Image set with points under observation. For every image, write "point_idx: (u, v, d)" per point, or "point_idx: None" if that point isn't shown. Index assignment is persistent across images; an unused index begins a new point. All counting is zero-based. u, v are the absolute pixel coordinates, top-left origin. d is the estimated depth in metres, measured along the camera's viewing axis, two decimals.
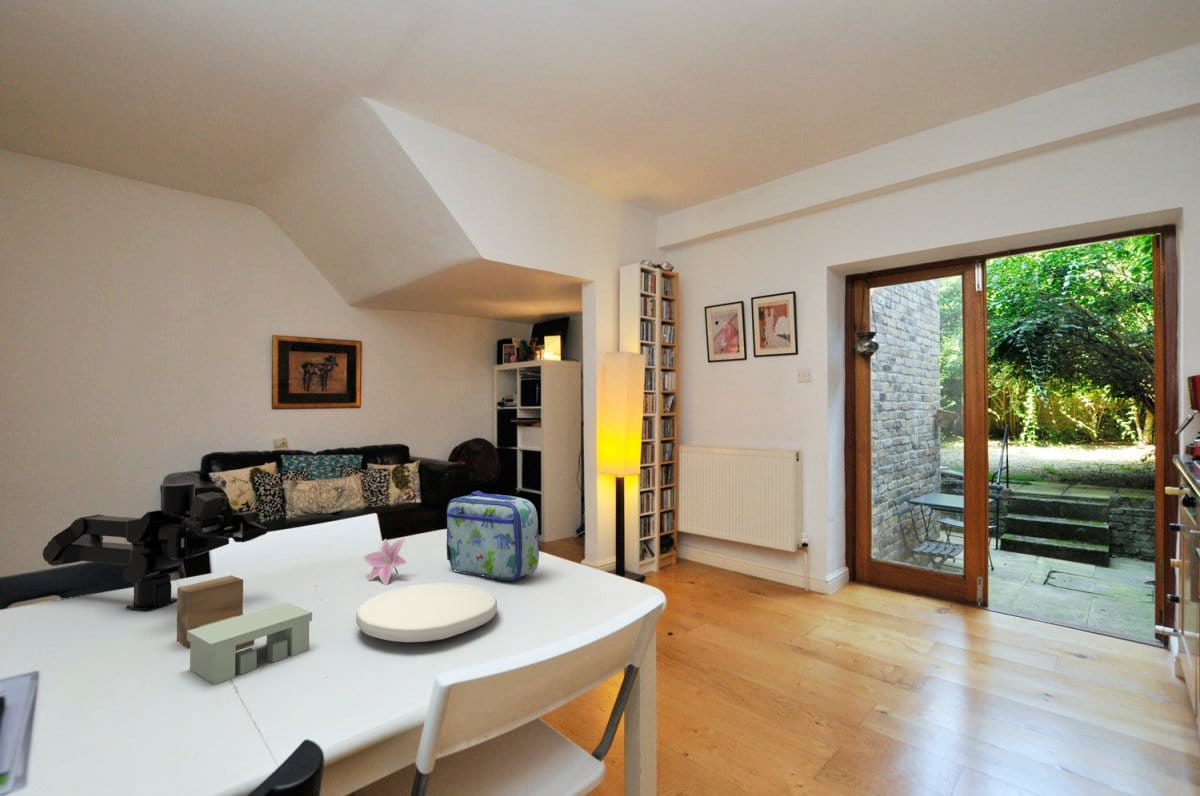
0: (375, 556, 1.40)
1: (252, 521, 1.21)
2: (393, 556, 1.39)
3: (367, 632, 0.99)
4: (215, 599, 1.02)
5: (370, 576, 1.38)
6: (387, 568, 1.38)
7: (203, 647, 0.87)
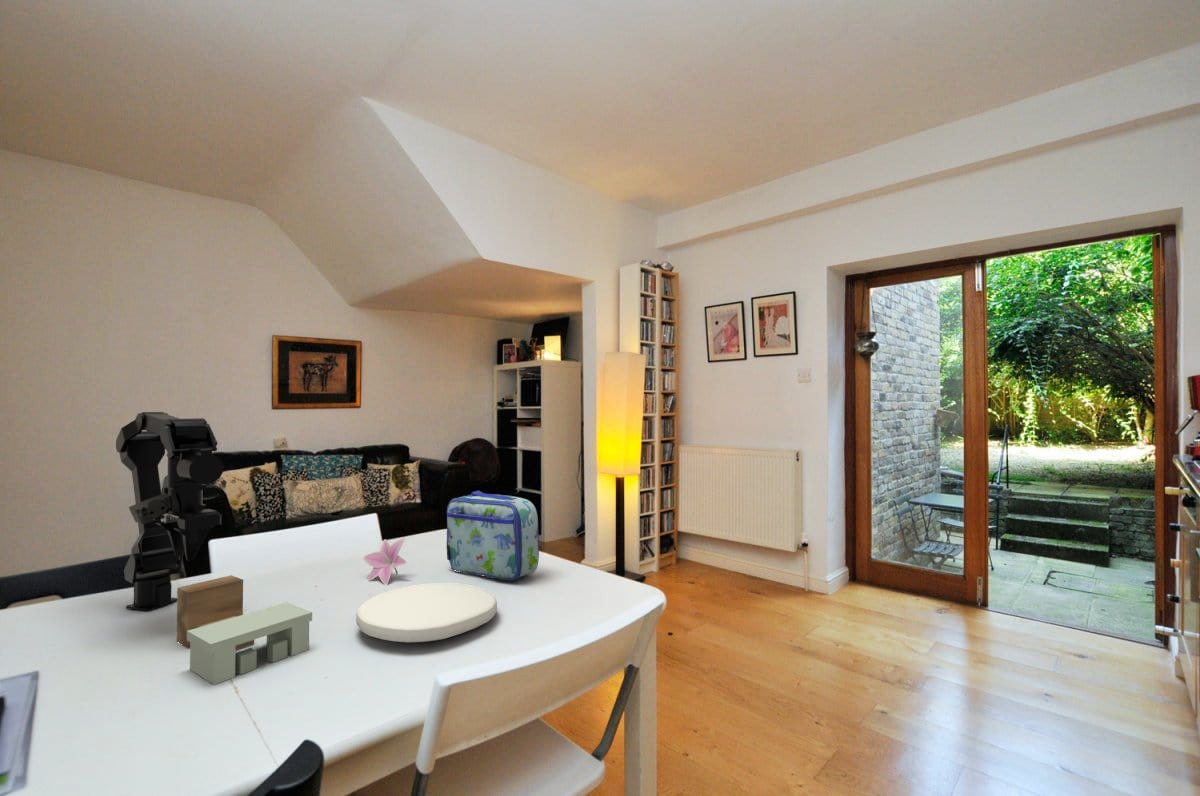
0: (375, 556, 1.40)
1: (184, 536, 1.07)
2: (393, 556, 1.39)
3: (367, 632, 0.99)
4: (215, 599, 1.02)
5: (370, 577, 1.37)
6: (387, 568, 1.37)
7: (203, 647, 0.87)
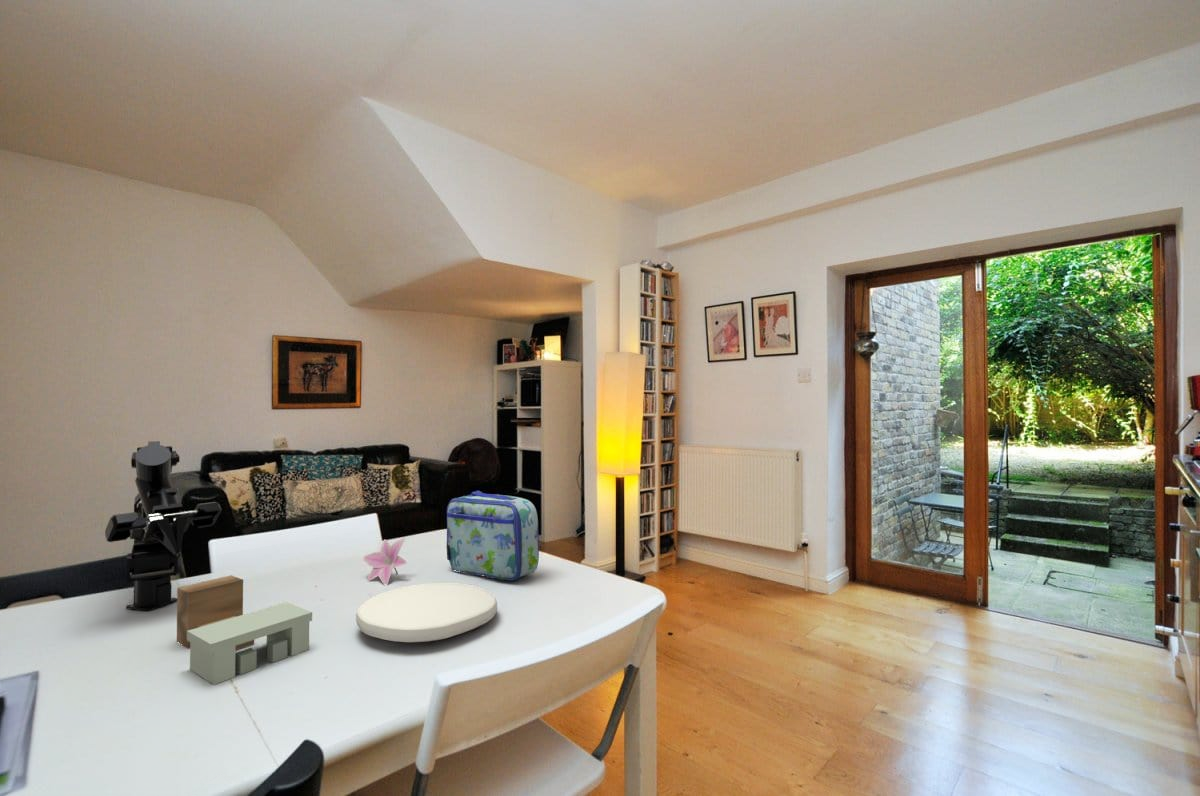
0: (375, 557, 1.40)
1: None
2: (393, 557, 1.39)
3: (367, 632, 0.99)
4: (215, 599, 1.02)
5: (370, 577, 1.37)
6: (387, 568, 1.37)
7: (203, 647, 0.87)
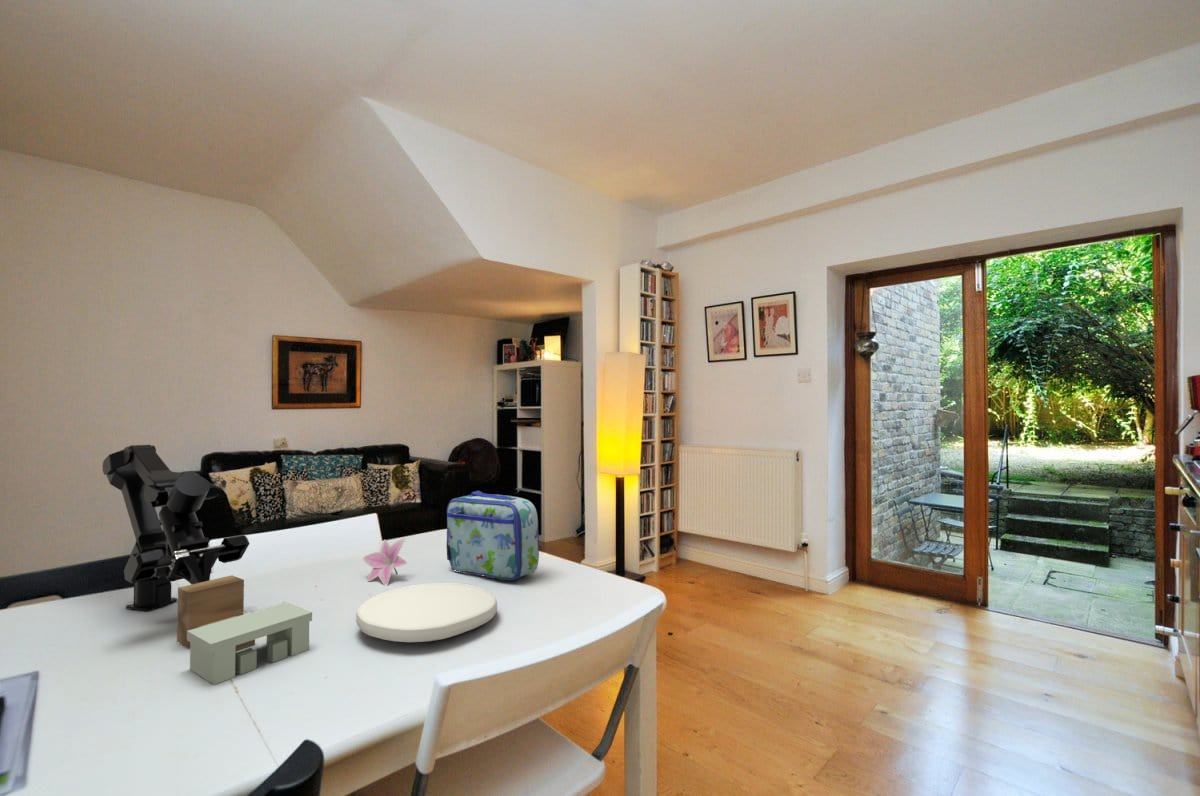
0: (375, 557, 1.40)
1: None
2: (393, 557, 1.39)
3: (367, 632, 0.99)
4: (216, 599, 1.02)
5: (370, 577, 1.37)
6: (387, 569, 1.37)
7: (203, 647, 0.87)
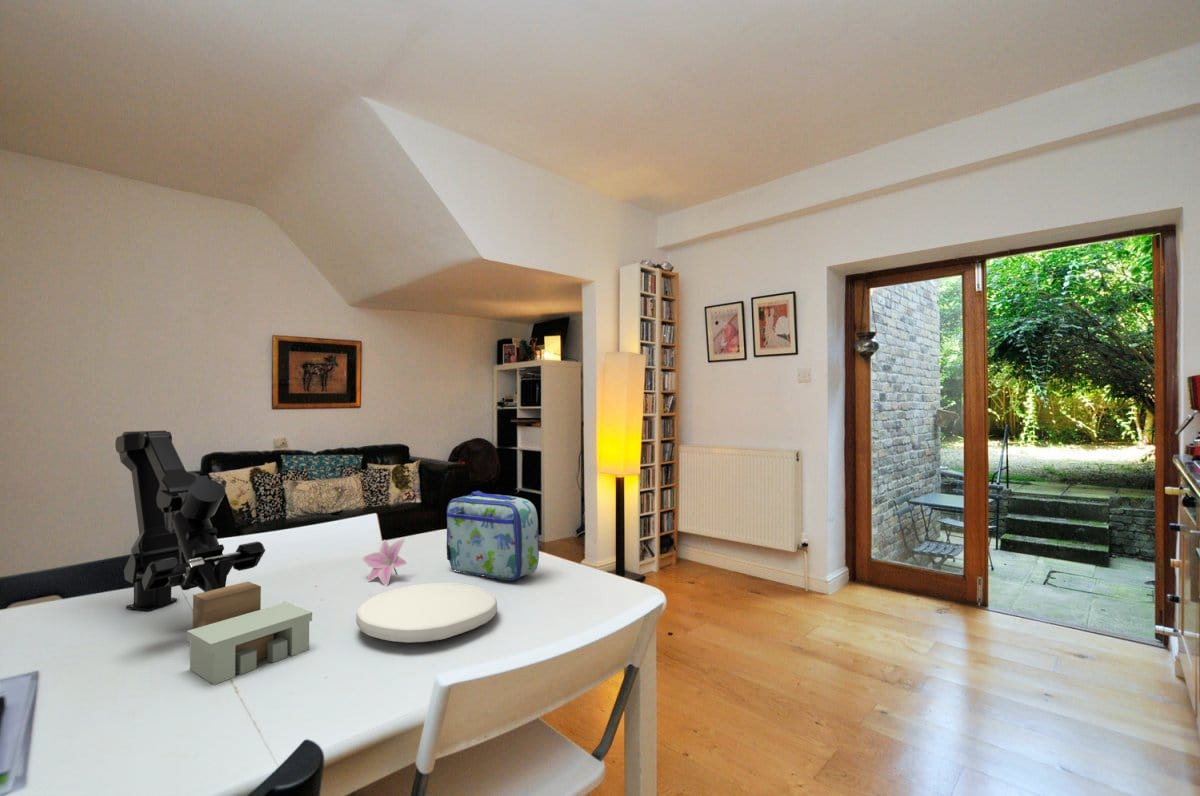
0: (374, 557, 1.39)
1: None
2: (393, 557, 1.39)
3: (367, 632, 0.99)
4: (233, 607, 0.98)
5: (369, 577, 1.37)
6: (387, 569, 1.37)
7: (203, 647, 0.87)
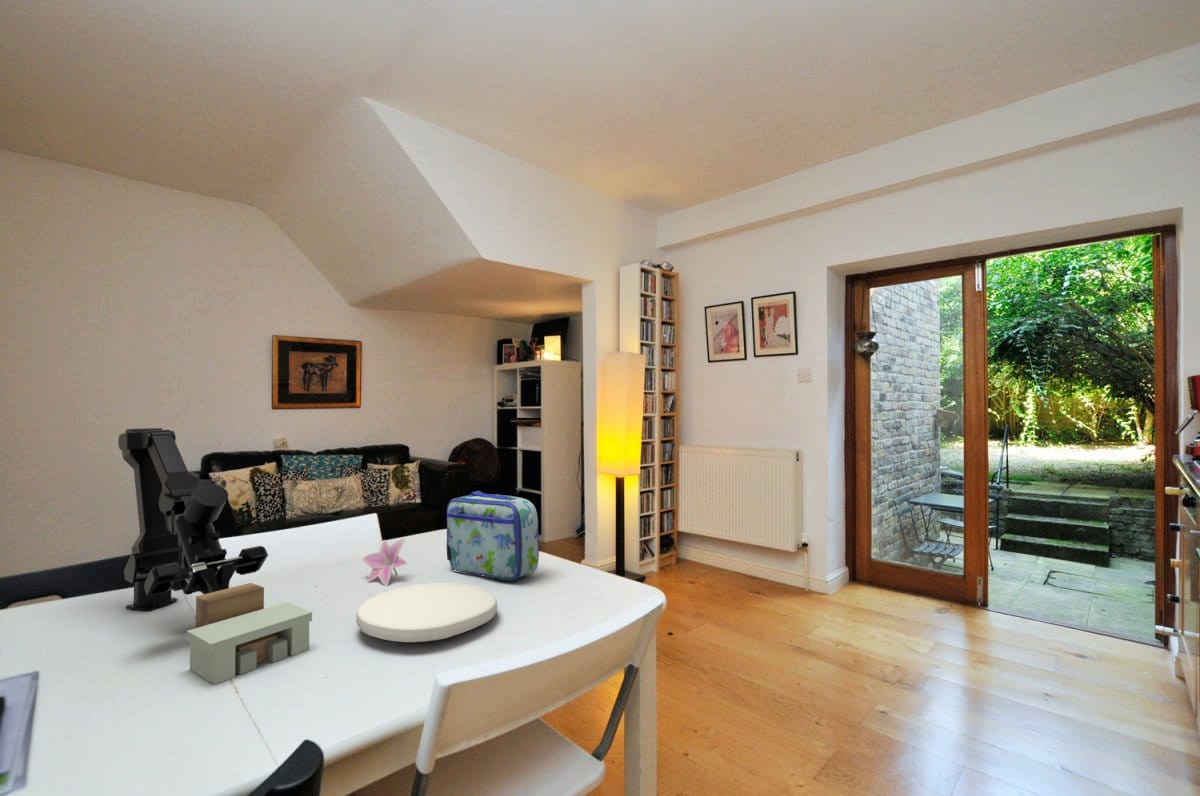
0: (374, 557, 1.39)
1: None
2: (393, 557, 1.38)
3: (367, 632, 0.99)
4: (236, 608, 0.98)
5: (369, 578, 1.37)
6: (387, 569, 1.37)
7: (203, 647, 0.87)
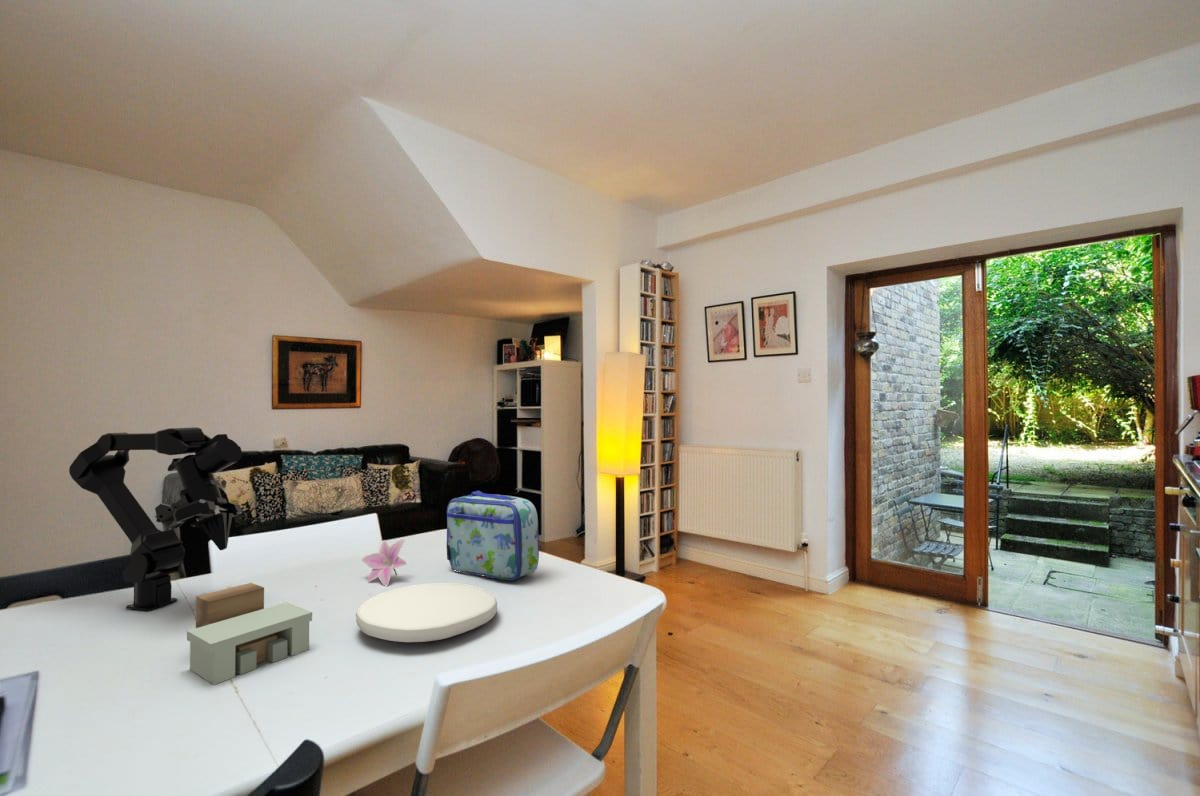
0: (374, 558, 1.39)
1: None
2: (393, 557, 1.38)
3: (367, 632, 0.99)
4: (236, 608, 0.98)
5: (369, 578, 1.36)
6: (387, 570, 1.36)
7: (203, 647, 0.87)
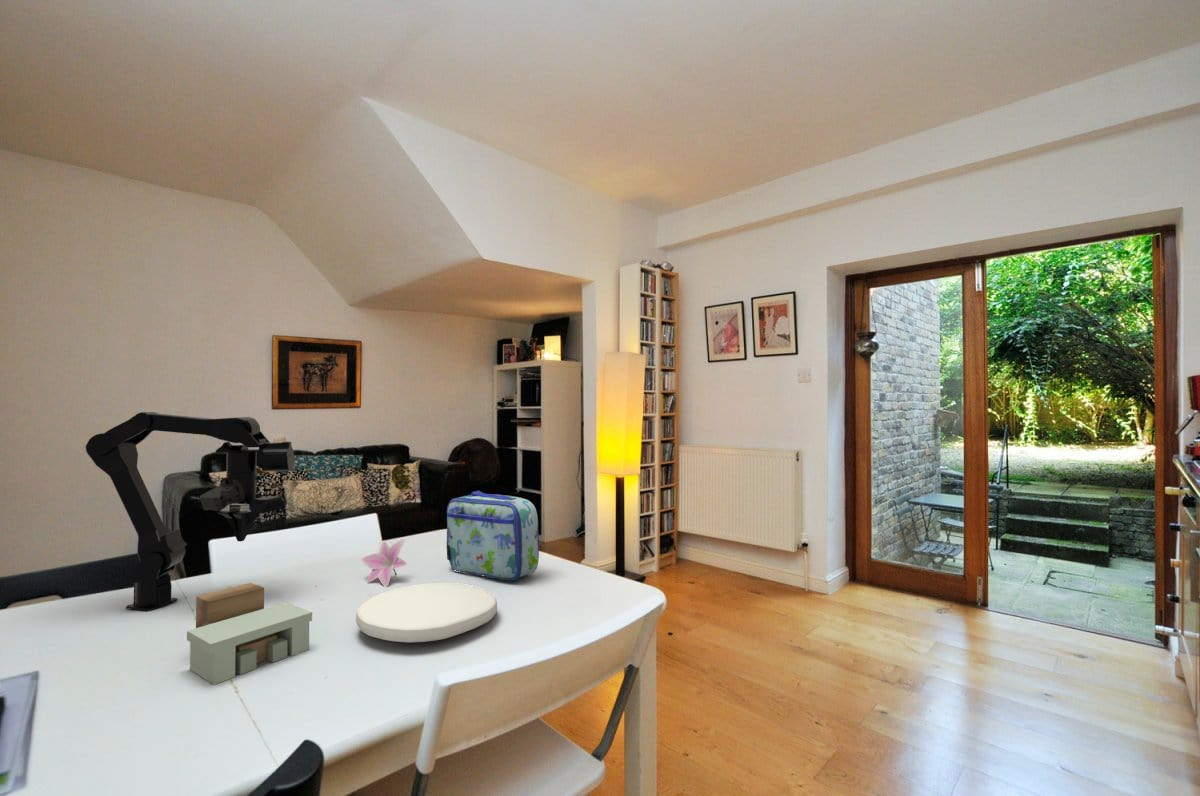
0: (374, 558, 1.38)
1: (241, 520, 1.22)
2: (393, 558, 1.38)
3: (367, 632, 0.99)
4: (236, 608, 0.98)
5: (369, 578, 1.36)
6: (387, 570, 1.36)
7: (203, 647, 0.87)
